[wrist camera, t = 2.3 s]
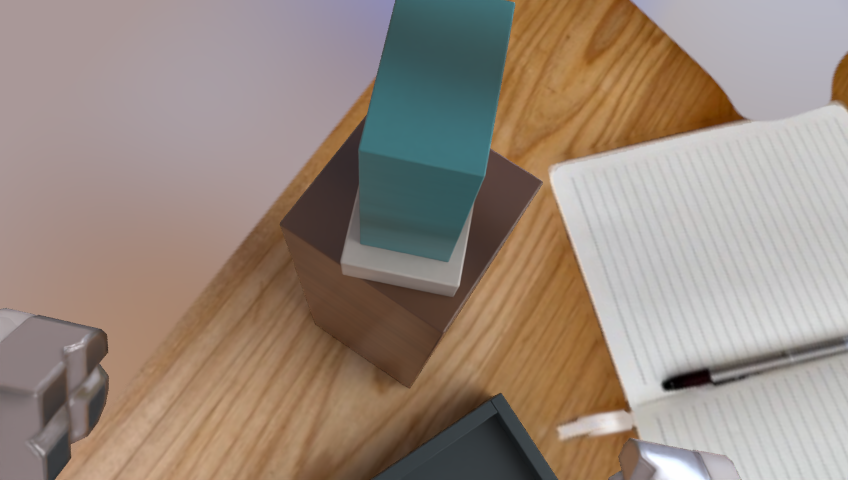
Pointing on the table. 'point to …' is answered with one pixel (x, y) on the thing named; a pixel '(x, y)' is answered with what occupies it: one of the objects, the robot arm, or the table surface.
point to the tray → (476, 450)
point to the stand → (384, 303)
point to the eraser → (427, 142)
